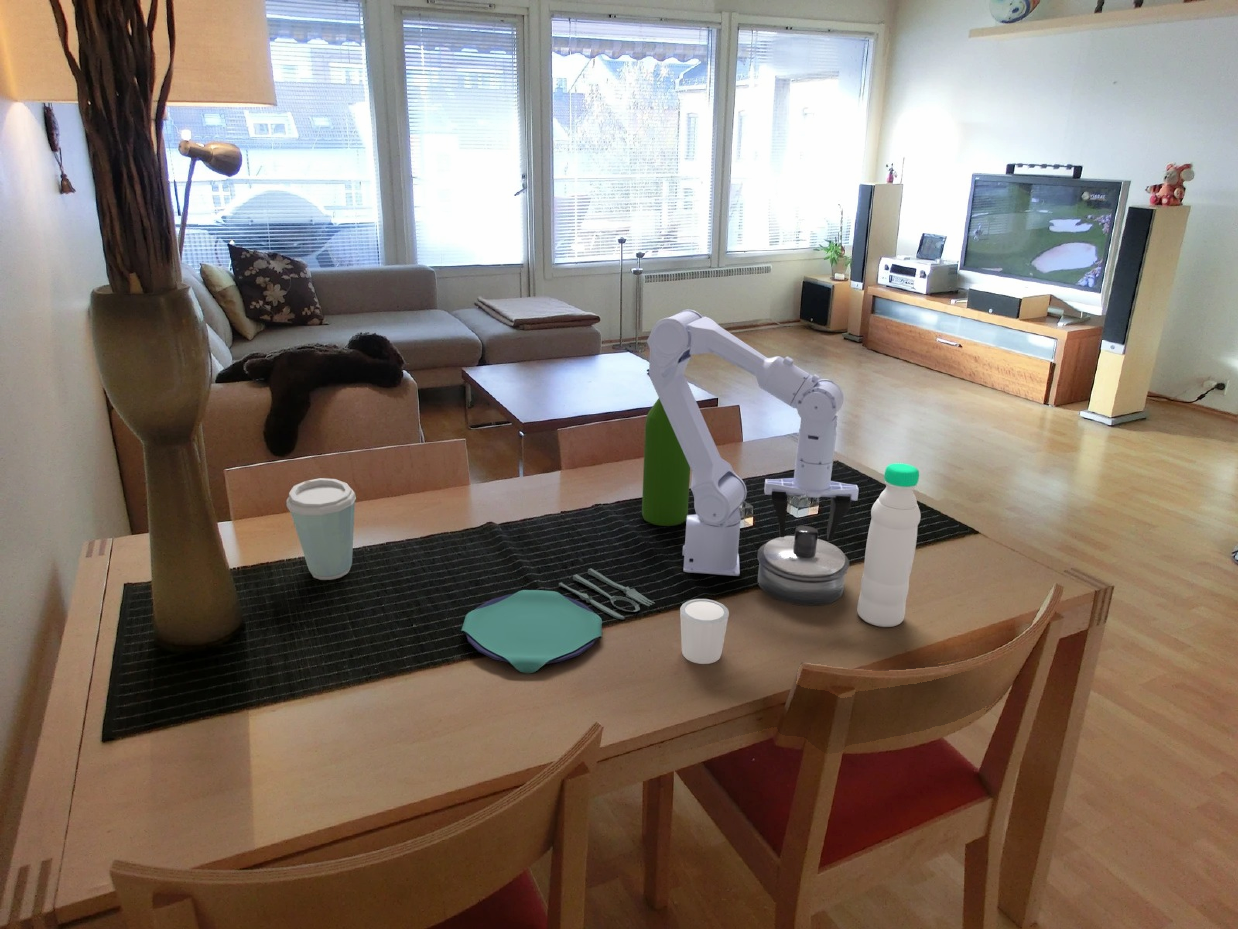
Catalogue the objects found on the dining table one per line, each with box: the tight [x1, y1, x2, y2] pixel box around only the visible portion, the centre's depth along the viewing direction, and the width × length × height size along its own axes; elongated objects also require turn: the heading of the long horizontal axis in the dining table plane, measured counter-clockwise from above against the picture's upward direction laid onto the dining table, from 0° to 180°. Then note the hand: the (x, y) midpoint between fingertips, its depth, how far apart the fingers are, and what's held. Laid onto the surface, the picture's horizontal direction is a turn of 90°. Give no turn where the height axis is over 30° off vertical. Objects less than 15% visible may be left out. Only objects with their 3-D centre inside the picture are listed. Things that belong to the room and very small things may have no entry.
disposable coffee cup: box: [285, 477, 357, 581], centre depth 140 cm, size 11×11×15 cm
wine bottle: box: [641, 397, 691, 527], centre depth 161 cm, size 9×9×32 cm
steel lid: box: [763, 525, 845, 578], centre depth 139 cm, size 13×13×5 cm
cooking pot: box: [757, 541, 850, 607], centre depth 142 cm, size 15×15×5 cm
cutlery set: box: [460, 568, 656, 674], centre depth 129 cm, size 20×30×2 cm, turn 136°
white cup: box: [679, 598, 730, 665], centre depth 121 cm, size 7×7×7 cm
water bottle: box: [856, 462, 922, 628], centre depth 129 cm, size 7×7×25 cm
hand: (805, 536), depth 139 cm, fingers open, 7 cm apart
